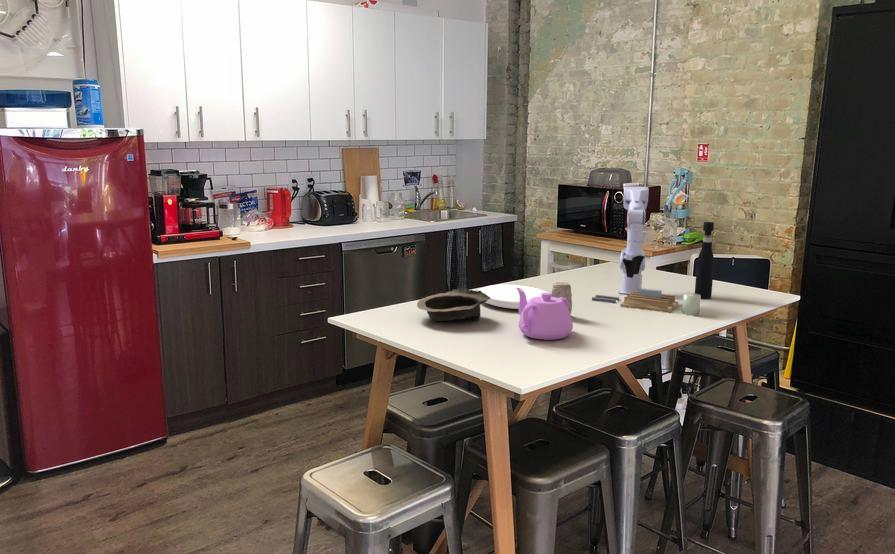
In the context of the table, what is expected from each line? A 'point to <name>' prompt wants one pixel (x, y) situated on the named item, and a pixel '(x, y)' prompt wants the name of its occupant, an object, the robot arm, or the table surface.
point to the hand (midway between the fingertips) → (632, 275)
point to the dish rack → (650, 302)
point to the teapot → (544, 317)
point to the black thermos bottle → (705, 264)
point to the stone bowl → (454, 305)
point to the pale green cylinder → (691, 304)
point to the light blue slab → (650, 293)
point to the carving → (563, 292)
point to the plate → (509, 295)
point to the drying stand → (605, 298)
